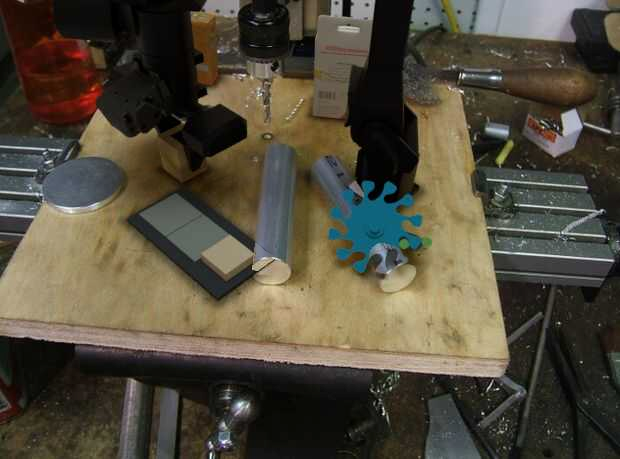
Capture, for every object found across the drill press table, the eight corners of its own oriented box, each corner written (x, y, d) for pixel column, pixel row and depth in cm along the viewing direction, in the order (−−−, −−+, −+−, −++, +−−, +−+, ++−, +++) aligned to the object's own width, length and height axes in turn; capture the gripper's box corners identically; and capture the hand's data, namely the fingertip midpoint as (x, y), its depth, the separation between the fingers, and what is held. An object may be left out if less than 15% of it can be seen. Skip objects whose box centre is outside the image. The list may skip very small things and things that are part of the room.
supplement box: (213, 87, 84) (207, 23, 77) (191, 83, 85) (183, 19, 78) (220, 76, 87) (215, 13, 80) (199, 72, 87) (192, 9, 80)
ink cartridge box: (372, 103, 83) (386, 5, 72) (371, 122, 79) (384, 22, 69) (315, 98, 83) (320, -1, 73) (311, 116, 80) (315, 15, 69)
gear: (312, 254, 59) (347, 165, 58) (318, 252, 65) (350, 171, 64) (412, 294, 57) (448, 203, 57) (409, 288, 63) (441, 205, 63)
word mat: (275, 259, 60) (275, 249, 59) (217, 300, 56) (216, 290, 55) (184, 188, 68) (182, 178, 67) (127, 220, 64) (124, 210, 62)
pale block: (208, 169, 71) (204, 136, 67) (182, 183, 69) (177, 150, 65) (188, 154, 73) (183, 122, 69) (162, 168, 70) (156, 135, 67)
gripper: (49, 37, 59) (86, 156, 70) (154, 110, 50) (177, 232, 61) (139, 7, 65) (160, 121, 76) (247, 68, 56) (253, 186, 67)
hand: (184, 162), depth 70 cm, fingers closed on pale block, 4 cm apart
